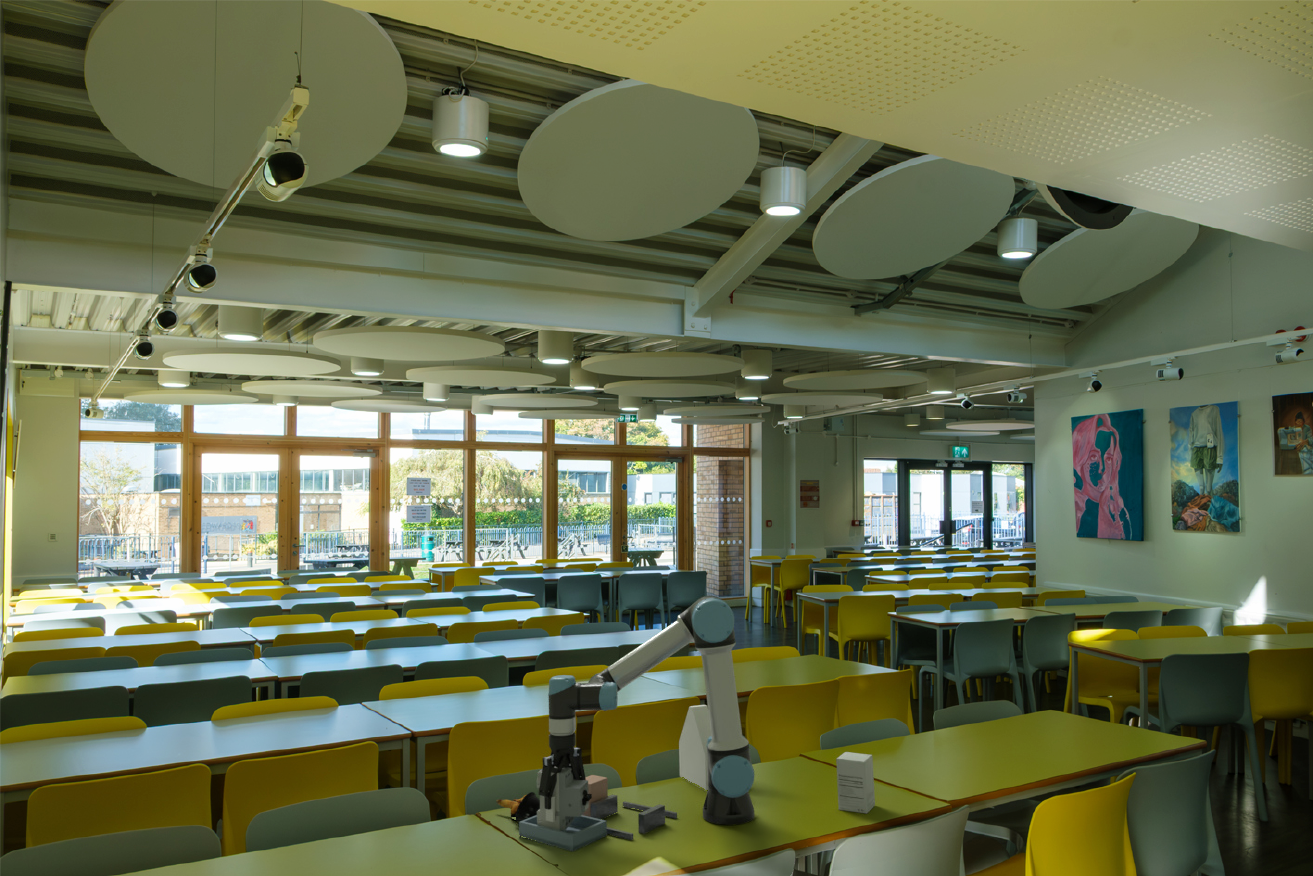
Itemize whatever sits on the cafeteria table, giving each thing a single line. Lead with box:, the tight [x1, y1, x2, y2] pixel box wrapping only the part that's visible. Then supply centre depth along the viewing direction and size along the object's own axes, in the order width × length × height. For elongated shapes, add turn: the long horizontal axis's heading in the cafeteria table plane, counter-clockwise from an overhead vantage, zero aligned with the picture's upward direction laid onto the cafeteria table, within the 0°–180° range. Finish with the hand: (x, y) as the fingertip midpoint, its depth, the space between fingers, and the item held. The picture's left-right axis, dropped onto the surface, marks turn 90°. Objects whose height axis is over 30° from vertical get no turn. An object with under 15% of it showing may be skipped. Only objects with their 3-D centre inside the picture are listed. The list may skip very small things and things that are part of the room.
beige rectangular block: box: [582, 774, 609, 817], centre depth 254 cm, size 6×8×10 cm
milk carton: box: [678, 704, 712, 791], centre depth 287 cm, size 19×15×25 cm
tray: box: [518, 815, 608, 852], centre depth 235 cm, size 20×14×4 cm
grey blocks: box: [591, 794, 678, 841], centre depth 246 cm, size 20×22×5 cm
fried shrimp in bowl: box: [496, 791, 540, 823], centre depth 250 cm, size 9×11×18 cm
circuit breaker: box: [536, 767, 592, 830], centre depth 236 cm, size 8×14×15 cm, turn 78°
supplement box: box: [836, 751, 876, 814], centre depth 256 cm, size 9×9×15 cm
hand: (562, 815), depth 236 cm, fingers closed on circuit breaker, 10 cm apart
